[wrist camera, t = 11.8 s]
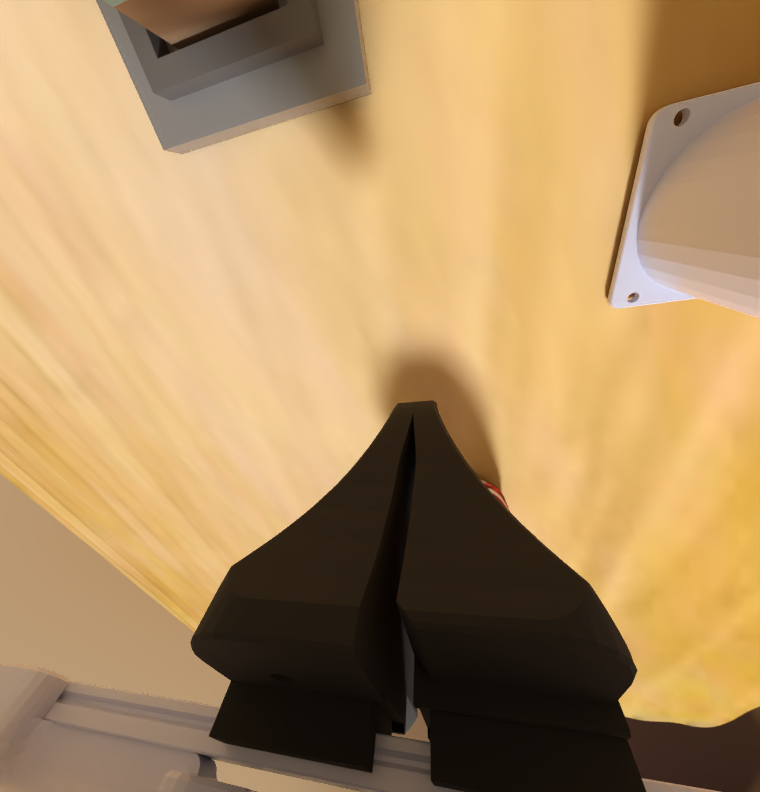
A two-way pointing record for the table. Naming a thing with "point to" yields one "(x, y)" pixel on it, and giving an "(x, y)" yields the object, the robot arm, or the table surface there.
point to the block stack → (192, 16)
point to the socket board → (245, 71)
